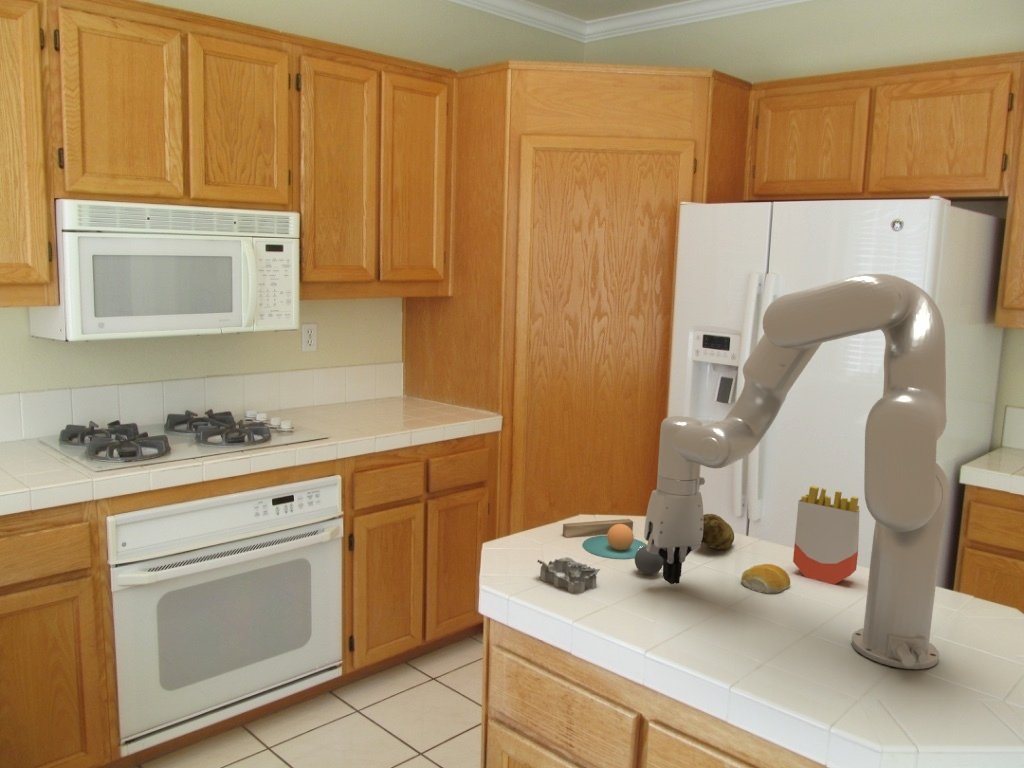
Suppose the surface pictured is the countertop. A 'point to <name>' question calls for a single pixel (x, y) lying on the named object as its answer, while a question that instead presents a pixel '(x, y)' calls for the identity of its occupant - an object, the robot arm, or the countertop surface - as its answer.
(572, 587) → the egg carton
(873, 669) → the countertop surface
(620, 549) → the object ball
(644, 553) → the dark gray ball
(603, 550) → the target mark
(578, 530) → the wooden block
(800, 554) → the french fries container
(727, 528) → the potato
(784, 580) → the bread roll
